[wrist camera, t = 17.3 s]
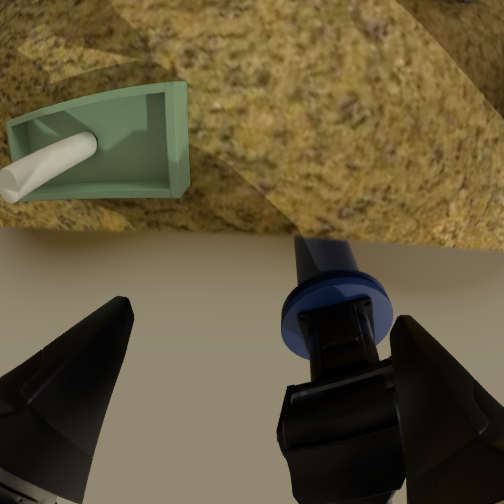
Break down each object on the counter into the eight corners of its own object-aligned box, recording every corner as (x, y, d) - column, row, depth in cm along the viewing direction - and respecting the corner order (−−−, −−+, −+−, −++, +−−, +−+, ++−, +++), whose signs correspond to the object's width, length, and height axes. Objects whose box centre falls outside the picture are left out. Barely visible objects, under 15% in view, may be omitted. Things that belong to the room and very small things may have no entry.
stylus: (104, 148, 17) (23, 195, 10) (86, 159, 18) (7, 209, 11) (94, 124, 16) (8, 161, 9) (76, 137, 17) (-7, 178, 10)
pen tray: (187, 81, 15) (174, 81, 13) (190, 185, 19) (180, 198, 17) (25, 115, 16) (5, 121, 14) (38, 190, 20) (20, 202, 18)
